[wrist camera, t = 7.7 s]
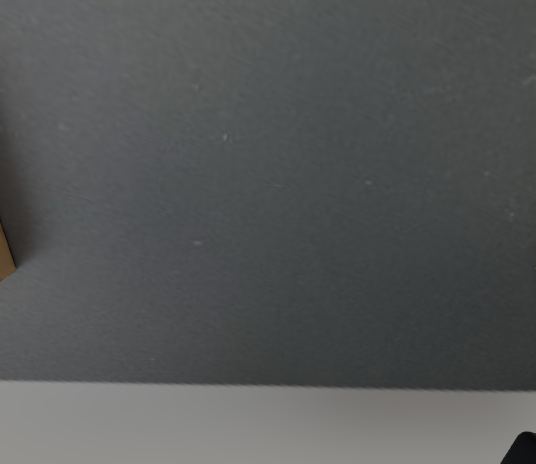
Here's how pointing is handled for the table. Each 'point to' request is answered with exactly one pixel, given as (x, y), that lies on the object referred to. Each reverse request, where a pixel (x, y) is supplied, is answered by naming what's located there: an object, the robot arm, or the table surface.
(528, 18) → the table surface
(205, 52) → the table surface
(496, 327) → the table surface
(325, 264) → the table surface
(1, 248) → the button block
